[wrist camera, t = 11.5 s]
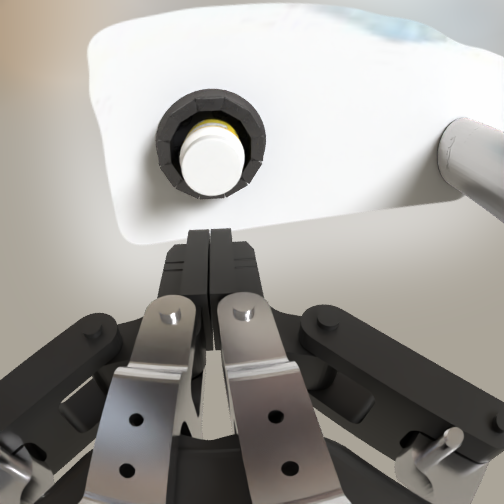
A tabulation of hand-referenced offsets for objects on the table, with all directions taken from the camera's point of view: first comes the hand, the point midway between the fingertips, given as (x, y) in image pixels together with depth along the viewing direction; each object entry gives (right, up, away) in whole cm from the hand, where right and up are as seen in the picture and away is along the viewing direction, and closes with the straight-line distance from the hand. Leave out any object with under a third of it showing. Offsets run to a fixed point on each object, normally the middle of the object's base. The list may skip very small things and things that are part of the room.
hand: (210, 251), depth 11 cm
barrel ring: (-2, +10, +15) cm, 18 cm away
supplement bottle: (-2, +10, +15) cm, 18 cm away
